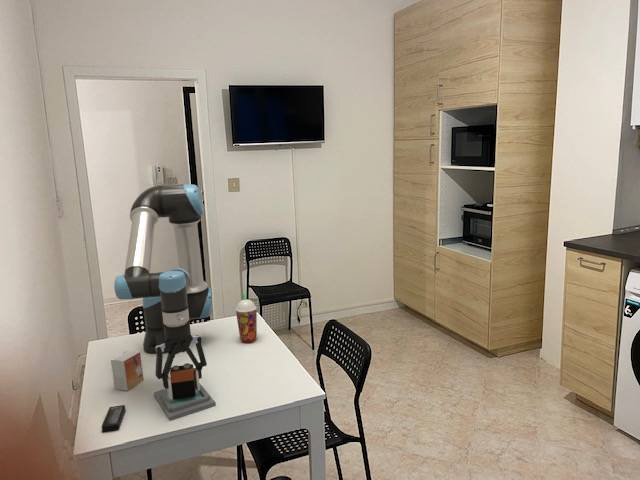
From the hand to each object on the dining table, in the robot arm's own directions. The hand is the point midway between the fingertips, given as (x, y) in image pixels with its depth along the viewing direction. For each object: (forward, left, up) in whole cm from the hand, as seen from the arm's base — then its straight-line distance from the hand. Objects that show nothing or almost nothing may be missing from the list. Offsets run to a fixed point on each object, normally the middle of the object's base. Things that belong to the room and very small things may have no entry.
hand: (184, 392), depth 148 cm
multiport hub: (-2, -20, -4) cm, 21 cm away
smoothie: (-33, +36, -3) cm, 49 cm away
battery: (0, 0, -1) cm, 1 cm away
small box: (-23, -12, -3) cm, 26 cm away
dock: (-1, 0, -3) cm, 3 cm away
